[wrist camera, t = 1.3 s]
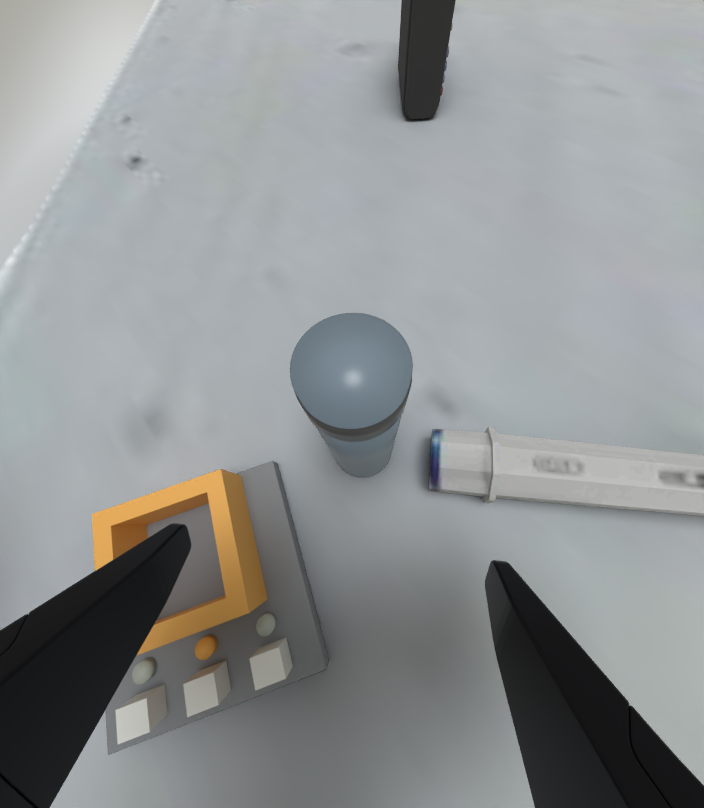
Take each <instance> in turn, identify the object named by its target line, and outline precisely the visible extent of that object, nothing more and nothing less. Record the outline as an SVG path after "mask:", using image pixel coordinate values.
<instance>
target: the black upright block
mask: <svg viewBox="0 0 704 808" xmlns="http://www.w3.org/2000/svg"><path fill="white" fill-rule="evenodd" d="M454 6H455V0H402V6H401V24H400V42H399V60H398V70H399V80H400V88H401V97H402V106H403V111H404V113H405V115H407V116H408V117H409V118H410V119H421V118H430V117H431V116H432V115H434V113H435V111H436V110H437V107H438V105H439V101H440V96H441V95H442V91H443V88H442V83H444V79H445V76H444V71H445V70H446V66H447V62H446V57H448V54H449V47H448V43H449V37H450V31H451V30H452V18H453V12H454Z"/></svg>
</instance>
